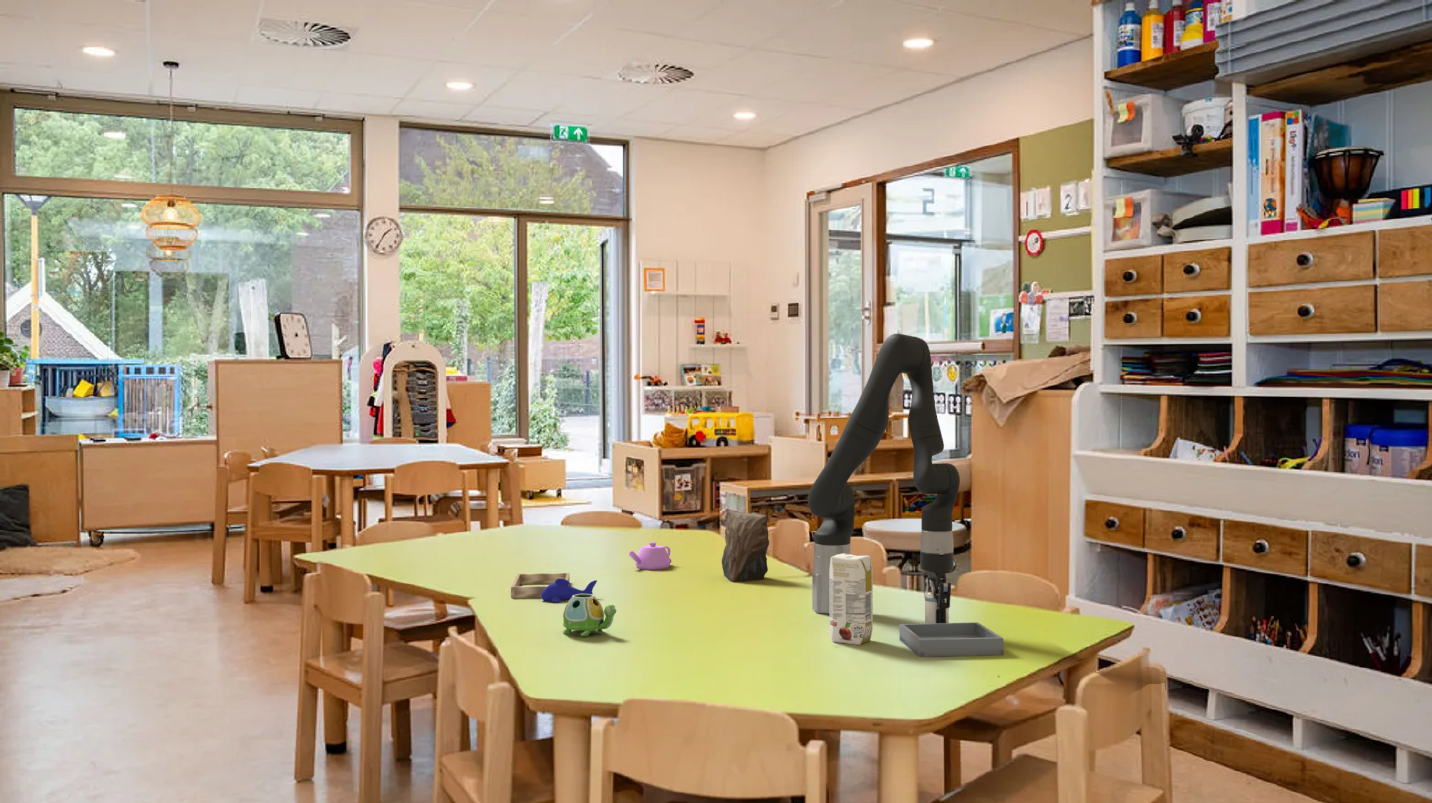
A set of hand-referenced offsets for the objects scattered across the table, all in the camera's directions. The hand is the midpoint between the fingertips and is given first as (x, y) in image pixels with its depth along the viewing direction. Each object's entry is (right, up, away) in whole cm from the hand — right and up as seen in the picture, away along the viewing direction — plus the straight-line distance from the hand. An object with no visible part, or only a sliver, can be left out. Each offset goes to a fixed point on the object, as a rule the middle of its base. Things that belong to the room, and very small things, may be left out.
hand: (936, 622), depth 254 cm
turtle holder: (-80, -2, -1) cm, 80 cm away
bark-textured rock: (-42, -2, +69) cm, 81 cm away
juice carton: (-21, -2, -10) cm, 24 cm away
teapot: (-71, -2, +84) cm, 110 cm away
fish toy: (-90, -2, +35) cm, 96 cm away
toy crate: (-99, -2, +47) cm, 110 cm away
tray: (0, -2, -16) cm, 16 cm away
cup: (0, -2, 0) cm, 2 cm away
